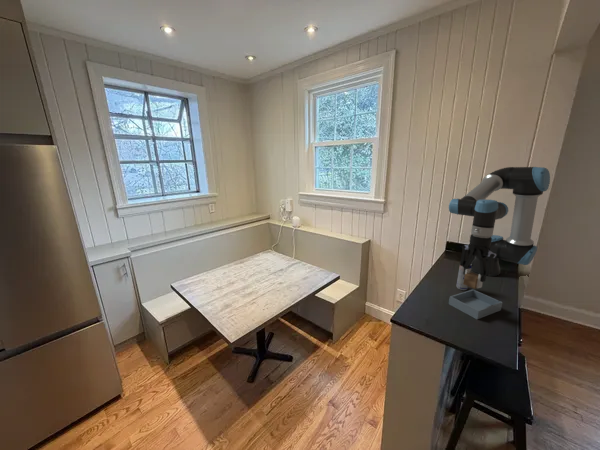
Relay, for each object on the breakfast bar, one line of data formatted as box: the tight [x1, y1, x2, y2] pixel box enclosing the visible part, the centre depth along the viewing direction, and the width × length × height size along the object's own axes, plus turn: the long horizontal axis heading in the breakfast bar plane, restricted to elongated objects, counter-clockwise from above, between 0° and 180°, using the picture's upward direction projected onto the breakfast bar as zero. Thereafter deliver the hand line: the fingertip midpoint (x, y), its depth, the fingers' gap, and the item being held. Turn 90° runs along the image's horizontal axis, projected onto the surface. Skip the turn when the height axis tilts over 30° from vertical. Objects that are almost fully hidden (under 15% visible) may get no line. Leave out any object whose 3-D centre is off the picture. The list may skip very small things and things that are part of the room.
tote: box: [448, 288, 503, 320], centre depth 114 cm, size 17×13×4 cm
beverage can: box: [456, 264, 472, 291], centre depth 130 cm, size 5×5×15 cm
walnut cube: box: [463, 271, 479, 290], centre depth 110 cm, size 5×5×5 cm
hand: (472, 284), depth 110 cm, fingers closed on walnut cube, 5 cm apart
